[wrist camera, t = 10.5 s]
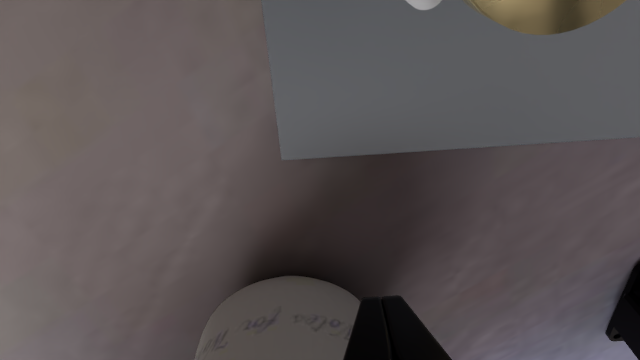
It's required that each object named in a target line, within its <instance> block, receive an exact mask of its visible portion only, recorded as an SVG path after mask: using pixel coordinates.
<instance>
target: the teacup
mask: <svg viewBox="0 0 640 360" xmlns="http://www.w3.org/2000/svg"><path fill="white" fill-rule="evenodd" d="M359 305H360V301H359V300H358V299H357V298H356V297H355V296H354V295H352V294H351V293H349V292H348V291H346V290H344V289H343V288H341V287H339V286H337V285H335V284H332V283H329V282H326V281H323V280H319V279H315V278H309V277H303V276H282V277H276V278H271V279H267V280H262V281H259V282H257V283H254V284H251V285H248V286H246V287H244V288H242V289H241V290H239V291H237V292H235V293H234V294H232V295H231V296H229V297H228V298H227V299H226V300H225V301H223V302H222V303H221V304H220V305H219V306H218V307H217V309H216V310H215V311H214V312H213V314H212V315H211V317H210V318H209V320H208V322H207V324H206V326H205V328H204V330H203V333H202V336H201V339H200V342H199V345H198V348H197V352H196V355H195V359H194V360H343V358H344V355H345V351H346V348H347V345H348V341H349V338H350V335H351V332H352V328H353V325H354V322H355V318H356V315H357V312H358V309H359Z"/></svg>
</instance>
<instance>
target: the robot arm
mask: <svg viewBox="0 0 640 360" xmlns="http://www.w3.org/2000/svg"><path fill="white" fill-rule="evenodd" d="M606 335H607V336H608V338H609V339H610V340H611V341H625V342H626V344H627V345H628V346H629V348H630V349H631V350H632V352H633V353H634V354H635V356H636V357H637V358H638V360H640V264H639V265H637V266H636V267H634V269H633V271H632V273H631V275H630V278H629V280H628V282H627V284H626V287H625V289H624V291H623V294H622V296H621V298H620V300H619V303H618V305H617V307H616V310H615V312H614V314H613V316H612V319H611V321H610V323H609V325H608V328H607V330H606ZM343 360H452V359H451V358H450V357H449V356H448V354H447V353H446V352H445V351H444V349H443V348H442V347H441V346H440V344H439V343H438V342H437V341H436V339H435V338H434V337H433V336H432V334H431V333H430V332H429V331H428V329H427V328H426V327H425V326H424V324H423V323H422V322H421V321H420V319H419V318H418V317H417V316H416V314H415V313H414V312H413V311H412V309H411V308H410V307H409V306H408V304H407V303H406V302H405V301H404V299H403V298H402V297H401V296H384V297H382V299H381V298H380V297H364V298H362V300H361V302H360V305H359V309H358V312H357V315H356V318H355V322H354V325H353V328H352V332H351V335H350V338H349V341H348V345H347V348H346V351H345V355H344V358H343Z"/></svg>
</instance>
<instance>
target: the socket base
mask: <svg viewBox="0 0 640 360" xmlns="http://www.w3.org/2000/svg"><path fill="white" fill-rule="evenodd" d="M261 1H262V9H263V17H264V25H265V33H266V41H267V49H268V56H269V64H270V72H271V80H272V88H273V96H274V104H275V112H276V120H277V128H278V135H279V143H280V151H281V159H282V160H296V159H311V158H327V157H342V156H358V155H373V154H388V153H404V152H419V151H435V150H450V149H465V148H481V147H496V146H512V145H527V144H542V143H558V142H573V141H589V140H604V139H620V138H635V137H640V0H626V1H625V2H624V3H622V4H621V5H620V6H618V7H617V8H616V9H614V10H613V11H611V12H610V13H608V14H607V15H605V16H604V17H602V18H600V19H598V20H596V21H594V22H592V23H590V24H588V25H586V26H583V27H580V28H578V29H575V30H571V31H568V32H564V33H558V34H551V35H533V34H525V33H521V32H517V31H514V30H511V29H509V28H507V27H505V26H503V25H501V24H499V23H497V22H495V21H493V20H491V19H489V18H487V17H485V16H483V15H481V14H479V13H477V12H476V11H475V10H473V9H472V8H470V7H469V6H468V5H467V4H466V3H465V2H464V1H463V0H261Z"/></svg>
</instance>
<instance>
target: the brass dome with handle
mask: <svg viewBox="0 0 640 360" xmlns="http://www.w3.org/2000/svg"><path fill="white" fill-rule="evenodd" d="M463 1H464V2H465V3H466V4H467V5H468V6H469V7H470V8H472V9H473V10H475V11H476V12H477V13H479V14H481V15H483V16H485V17H487V18H489V19H491V20H493V21H495V22H497V23H499V24H501V25H503V26H505V27H507V28H509V29H511V30H514V31H517V32H521V33H525V34H533V35H551V34H558V33H564V32H568V31H571V30H575V29H578V28H580V27H583V26H586V25H588V24H590V23H592V22H594V21H596V20H598V19H600V18H602V17H604V16H605V15H607V14H608V13H610V12H611V11H613V10H614V9H616V8H617V7H618V6H620V5H621V4H622V3H624V2H625V1H626V0H463Z"/></svg>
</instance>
